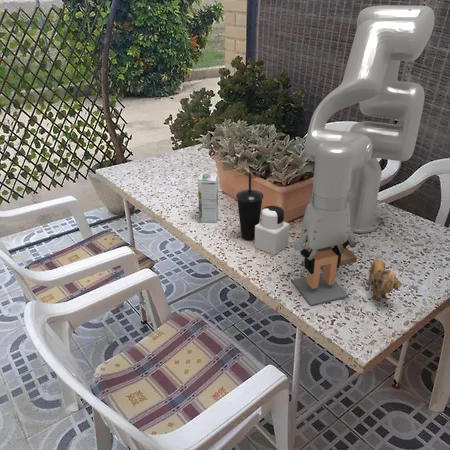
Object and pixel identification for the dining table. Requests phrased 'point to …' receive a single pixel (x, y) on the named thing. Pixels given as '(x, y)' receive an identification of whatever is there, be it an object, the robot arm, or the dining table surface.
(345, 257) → the stand
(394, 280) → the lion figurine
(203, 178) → the syrup box
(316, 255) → the c link
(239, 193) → the drinking cup
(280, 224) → the medicine bottle
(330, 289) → the slate mat
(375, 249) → the dining table surface
